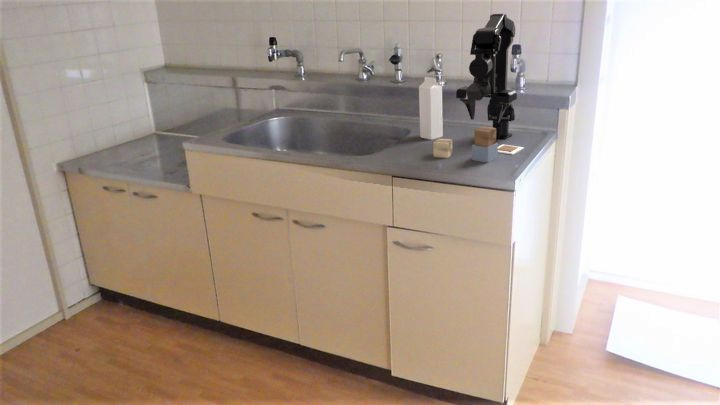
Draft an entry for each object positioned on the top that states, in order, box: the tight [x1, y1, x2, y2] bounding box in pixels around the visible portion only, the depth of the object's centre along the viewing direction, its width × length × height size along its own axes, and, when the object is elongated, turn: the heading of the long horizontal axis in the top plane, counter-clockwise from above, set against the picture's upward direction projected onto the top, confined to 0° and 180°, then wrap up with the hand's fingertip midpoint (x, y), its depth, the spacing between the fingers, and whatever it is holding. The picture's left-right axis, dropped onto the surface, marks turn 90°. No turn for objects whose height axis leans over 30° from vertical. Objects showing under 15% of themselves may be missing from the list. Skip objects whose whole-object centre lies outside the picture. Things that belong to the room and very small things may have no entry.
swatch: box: [498, 144, 525, 156], centre depth 202 cm, size 8×8×1 cm
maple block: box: [432, 138, 453, 159], centre depth 201 cm, size 5×5×5 cm
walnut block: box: [474, 126, 497, 147], centre depth 192 cm, size 5×5×5 cm
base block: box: [471, 142, 499, 163], centre depth 194 cm, size 6×6×5 cm
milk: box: [418, 76, 444, 141], centre depth 219 cm, size 6×6×22 cm
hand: (485, 121), depth 191 cm, fingers open, 9 cm apart
